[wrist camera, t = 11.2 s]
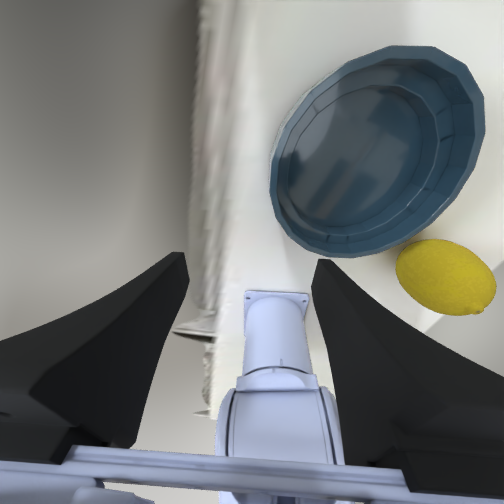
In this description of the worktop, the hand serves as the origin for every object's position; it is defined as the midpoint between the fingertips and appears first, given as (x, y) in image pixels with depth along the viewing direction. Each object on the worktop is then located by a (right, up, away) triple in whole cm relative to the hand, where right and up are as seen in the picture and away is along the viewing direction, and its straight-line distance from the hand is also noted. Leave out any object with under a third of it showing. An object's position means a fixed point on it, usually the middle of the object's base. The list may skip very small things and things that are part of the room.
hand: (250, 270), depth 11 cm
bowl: (+8, +8, +6) cm, 13 cm away
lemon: (+16, +1, +10) cm, 19 cm away
